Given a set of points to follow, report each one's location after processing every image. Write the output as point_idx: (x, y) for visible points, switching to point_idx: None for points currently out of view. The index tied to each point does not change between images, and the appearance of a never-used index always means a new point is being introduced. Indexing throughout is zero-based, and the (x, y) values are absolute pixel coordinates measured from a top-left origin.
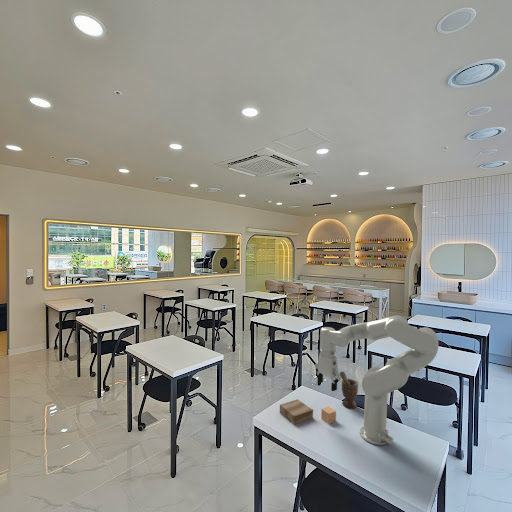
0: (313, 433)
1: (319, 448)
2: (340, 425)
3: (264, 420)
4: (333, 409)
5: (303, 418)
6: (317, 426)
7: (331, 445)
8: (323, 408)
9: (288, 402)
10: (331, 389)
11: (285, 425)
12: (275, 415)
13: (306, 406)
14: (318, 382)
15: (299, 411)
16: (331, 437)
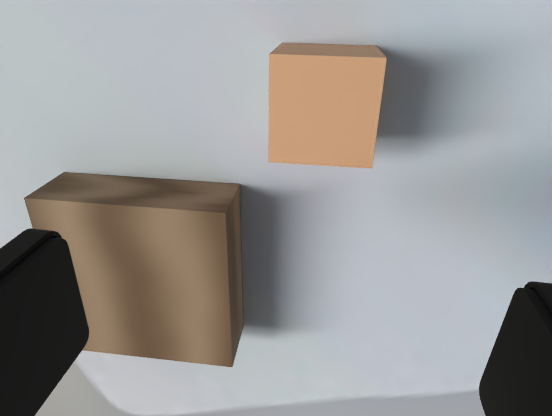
0: (376, 301)
1: None
2: (449, 65)
3: (141, 404)
4: (345, 56)
5: (238, 275)
6: (339, 231)
7: None
8: (271, 138)
9: None
10: (487, 411)
11: None
12: None
13: (155, 219)
14: (75, 349)
15: (195, 308)
16: (485, 245)
